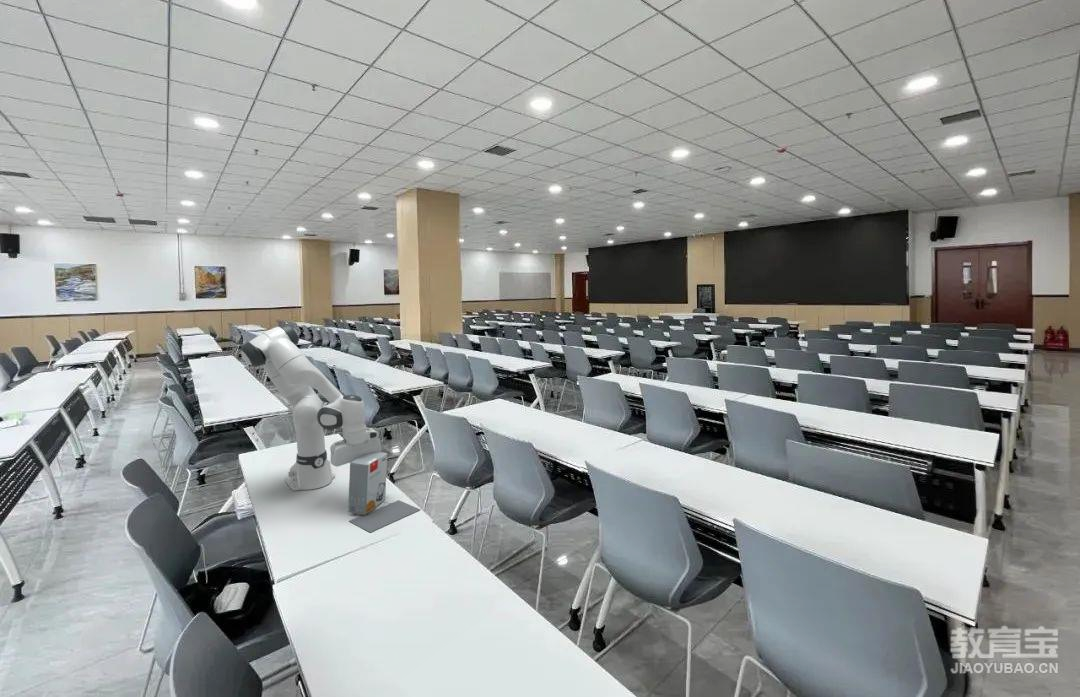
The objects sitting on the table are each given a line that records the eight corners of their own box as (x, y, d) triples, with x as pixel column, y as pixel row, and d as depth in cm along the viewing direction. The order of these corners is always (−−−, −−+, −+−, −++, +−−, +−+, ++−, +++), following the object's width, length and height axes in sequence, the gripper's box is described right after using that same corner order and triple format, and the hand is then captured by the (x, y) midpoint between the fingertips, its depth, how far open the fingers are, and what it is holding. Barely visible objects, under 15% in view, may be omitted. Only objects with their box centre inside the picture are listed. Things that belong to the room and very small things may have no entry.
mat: (348, 521, 188) (348, 520, 188) (398, 500, 205) (398, 500, 204) (370, 533, 179) (370, 532, 179) (420, 510, 196) (420, 509, 196)
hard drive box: (365, 516, 191) (367, 465, 188) (347, 512, 192) (348, 462, 190) (386, 499, 206) (387, 452, 203) (369, 496, 207) (370, 449, 205)
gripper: (334, 445, 188) (337, 480, 190) (382, 431, 204) (384, 464, 206) (325, 441, 192) (328, 476, 194) (373, 428, 208) (375, 460, 210)
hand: (357, 470), depth 200 cm, fingers closed
